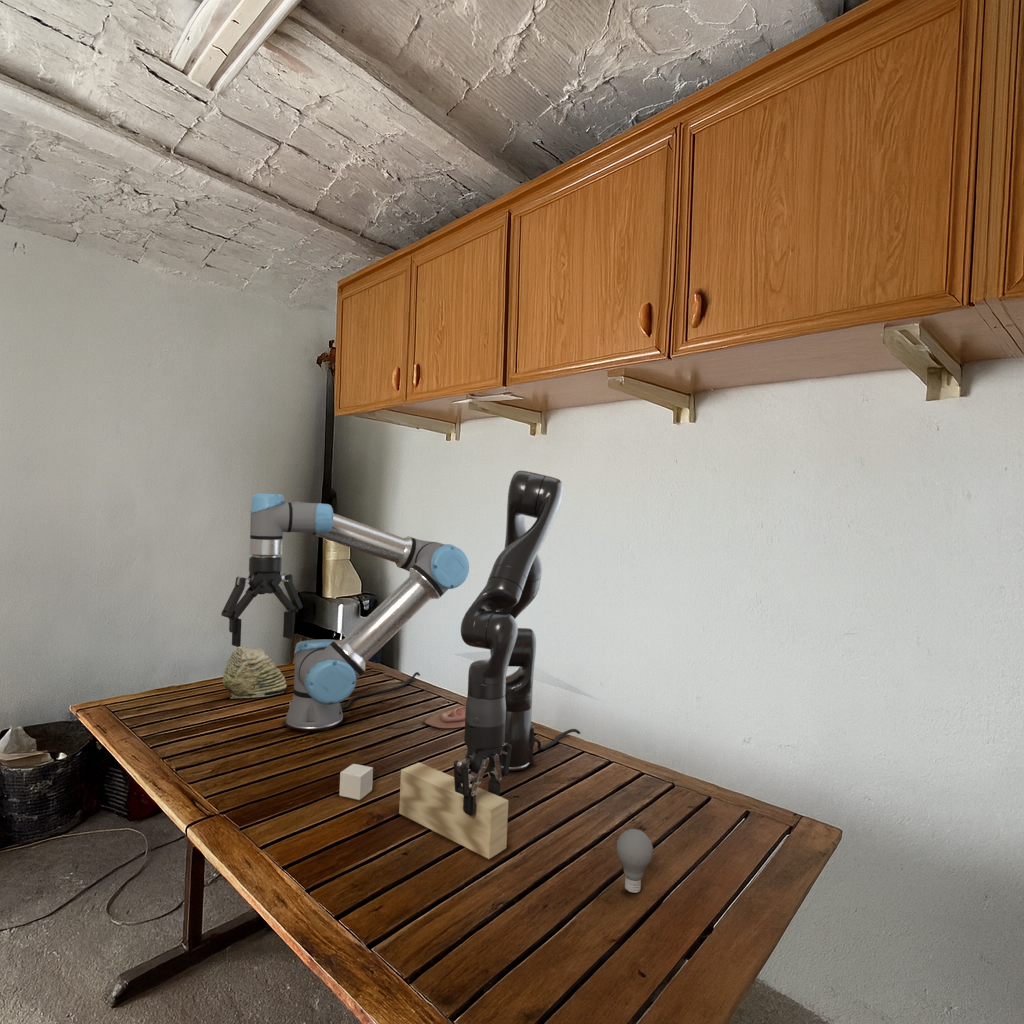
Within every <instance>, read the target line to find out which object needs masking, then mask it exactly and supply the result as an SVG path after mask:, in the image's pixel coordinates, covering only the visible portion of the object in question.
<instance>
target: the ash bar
mask: <svg viewBox="0 0 1024 1024" xmlns="http://www.w3.org/2000/svg"><path fill="white" fill-rule="evenodd" d="M399 785H400V786H399V806H398V809H399V810H398V814H399V815H401V816H404V817H405V818H407V819H409V820H411V821H413V822H415V823H416V824H419V825H421V826H423V827H425V828H427V829H429V830H431V831H433V832H435V833H436V834H439V835H440V836H442V837H445V838H446V839H448V840H450V841H452V842H455V843H456V844H458V845H460V846H461V847H464V848H466V849H468V850H470V851H472V852H474V853H476V854H478V855H480V856H482V857H484V858H485V859H487V860H490V859H492V858H493V857H495V856H496V855H498V854H499V853H501V852H502V851H504V850H505V849H507V844H508V843H507V841H508V824H509V823H508V822H509V821H508V818H509V799H507V798H504V797H502V796H501V795H500V796H497V795H495V794H493V793H490V792H488V790H485V789H483V788H481V787H479V786H478V787H477V790H476V793H475V795H476V810H475V814H474V815H472V816H470V815H468V814H466V813H465V812H464V810H463V798H464V795H462V794H460V793H457V792H455V781H454V776H453V775H450V774H447V773H446V772H443V771H441V770H438V769H436V768H435V767H431V766H430V765H429V766H428V765H426V764H424V763H422V762H416V763H414V764H412V765H409V766H406V767H404V768H401V769H400V782H399ZM461 786H462V783H461ZM471 786H472V783H470V784H469V787H470V788H471Z"/></svg>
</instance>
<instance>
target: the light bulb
mask: <svg viewBox="0 0 1024 1024" xmlns="http://www.w3.org/2000/svg"><path fill="white" fill-rule="evenodd" d="M615 849H616V854H617V857H618V859H619V861H620V863H621V865H622V867H623V873H624V874H623V875H624V876H625V878H624V888H625V890H627V891H628V892H630V893H634V894H635V893H639V892H640V891H641V889H642V887H641V886H642V879H643V877H644V875H645V871H646V868H647V867H648V866H649V864H650V863H651V861H652V859H653V855H654V847H653V843H652V841H651V838H649V836H648V835H647V834H646V833H645V832H643V831H642V830H641V829H636V828H629V829H627V830H625V831H623V832H622V833H621V834H620V835H619V837H618V839H617V841H616V847H615Z"/></svg>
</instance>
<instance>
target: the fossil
mask: <svg viewBox="0 0 1024 1024" xmlns="http://www.w3.org/2000/svg"><path fill="white" fill-rule="evenodd" d="M222 676H223V677H222V685H223V687H224V688H225V690H226V691H228V693H229V698H230V699H250V698H264V697H271V696H275V695H281V694H284V693H285V691H286V689H287V687H288V686H287V680H286V678H285V676H284V674H283V673H282V672H281V669H279V668H278V667H277V665H276V663H275V662H274V660H273V659H272V658H271V657H270V656H269V655H268V654H267V653H266V652H265V650H264V649H263V648H260V647H258V648H251V647H247V646H246V647H245V646H241V647H236V649H235V650H233V651H232V653H231V656H230V657H229V659H228V660H227V663H226V666H225V668H224V671H223V675H222Z"/></svg>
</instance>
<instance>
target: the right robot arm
mask: <svg viewBox="0 0 1024 1024" xmlns="http://www.w3.org/2000/svg"><path fill="white" fill-rule="evenodd" d="M510 479H511V480H510V483H509V486H508V491H507V492H508V493H507V504H506V527H505V541H504V548H503V550H502V551H501V552H500V553H499V554H498V556H497V558H496V559H495V561H494V563H493V566H492V568H491V571H490V573H489V576H488V579H487V582H486V584H485V586H484V587H483V589H482V590H481V591H480V593H479V594H478V595H477V597H476V599H474V601H473V602H472V604H471V605H470V607H469V608H468V609H467V610H466V612H465V613H464V616H463V618H462V620H461V623H460V635H461V639H462V642H463V643H465V645H467V646H469V647H473V648H477V649H484V650H489V651H490V653H489V654H490V657H489V658H486V659H485V658H484V659H479V660H475V661H472V662H471V663H470V664H469V668H468V675H467V679H468V680H467V697H466V702H465V706H466V711H465V726H464V735H463V736H464V737H463V740H464V741H463V742H464V743H465V745H466V748H467V750H466V754H465V756H464V757H465V758H463V759H462V760H458V759H455V760H454V762H453V777H454V781H455V792H457V793H460V794H462V795H464V798H463V810H464V812H465V813H466V814H468V815H470V816H472V815H474V814H475V810H476V795H475V793H476V790H477V787H478V788H479V785H481V783H482V782H483V779H484V776H485V775H486V774H487V776H488V785H487V786H488V787H487V791H488V792H490V793H493V794H495V795H497V796H500V797H501V783H502V782H503V778H504V777H508V776H509V774H510V773H509V772H519V771H524V770H526V769H528V768H529V767H531V766H533V764H534V747H535V743H537V750H539V751H544V750H547V749H549V748H551V747H552V746H554V745H556V744H557V742H558V741H559V740H560V739H561V738H563V737H565V736H566V735H568V734H570V733H576V734H577V735H581V731H579V729H577V728H571V729H568V730H565V731H564V732H561V733H560V734H558V735H556V737H555V738H554V740H552V741H550V742H549V743H548V744H546V745H544V746H542V741H541V740H540V739H538V738H537V737H535V726H534V725H533V724H532V710H533V694H534V693H533V691H534V674H535V662H536V655H537V654H536V653H537V637H536V633H535V631H534V630H533V629H532V628H528V627H518V624H517V620H516V619H517V617H518V616H519V615H521V613H522V612H524V610H525V609H527V607H529V605H530V604H531V603H532V602H533V601H534V600H535V599H536V597H537V595H538V594H539V591H540V587H541V579H542V574H543V563H542V559H541V557H540V554H539V551H540V549H541V547H542V546H543V543H544V542H545V540H546V538H547V536H548V533H549V532H550V530H551V527H552V526H553V523H554V521H555V519H556V517H557V516H558V513H559V510H560V508H561V505H562V500H563V496H564V495H563V494H564V485H563V482H562V480H560V479H559V478H556V477H553V476H550V475H545V474H540V473H537V472H532V471H527V470H517V471H516V472H515V473H514V474H513V475H512V477H511V478H510ZM526 517H530V518H533V519H536V520H535V522H534V523H533V524H532V526H531V527H529V529H527V525H526ZM509 667H514V668H518V669H517V670H515V671H514V672H513V673H510V674H508V675H507V673H508V668H509ZM472 773H473V774H475V775H476V776H474V775H472ZM471 781H472V783H471ZM461 783H462V786H461ZM469 784H471V785H472V786H471V788H470V787H469Z"/></svg>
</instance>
